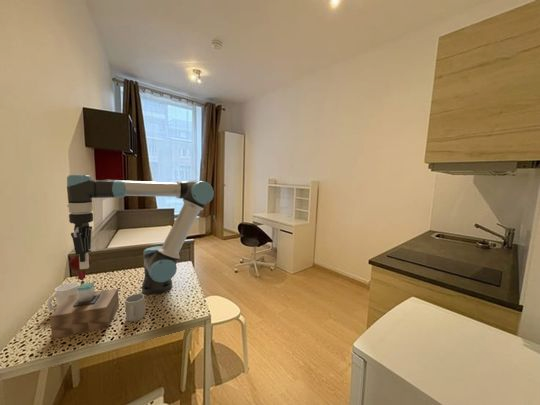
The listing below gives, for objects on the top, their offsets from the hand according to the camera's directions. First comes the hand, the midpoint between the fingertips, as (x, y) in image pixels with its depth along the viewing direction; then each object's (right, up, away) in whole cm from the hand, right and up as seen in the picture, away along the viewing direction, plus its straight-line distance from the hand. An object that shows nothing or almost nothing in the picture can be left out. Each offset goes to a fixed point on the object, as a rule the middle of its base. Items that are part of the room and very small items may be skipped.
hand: (84, 268), depth 94 cm
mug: (-17, -22, +10) cm, 30 cm away
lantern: (-24, -20, +29) cm, 43 cm away
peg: (+1, -16, +1) cm, 16 cm away
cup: (+19, -23, +3) cm, 30 cm away
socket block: (+1, -23, +2) cm, 23 cm away
